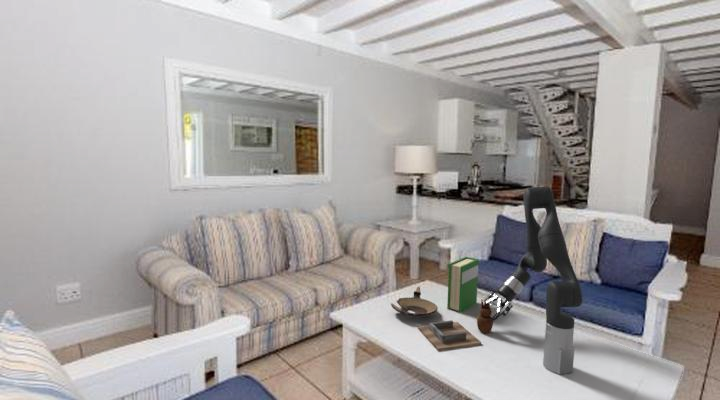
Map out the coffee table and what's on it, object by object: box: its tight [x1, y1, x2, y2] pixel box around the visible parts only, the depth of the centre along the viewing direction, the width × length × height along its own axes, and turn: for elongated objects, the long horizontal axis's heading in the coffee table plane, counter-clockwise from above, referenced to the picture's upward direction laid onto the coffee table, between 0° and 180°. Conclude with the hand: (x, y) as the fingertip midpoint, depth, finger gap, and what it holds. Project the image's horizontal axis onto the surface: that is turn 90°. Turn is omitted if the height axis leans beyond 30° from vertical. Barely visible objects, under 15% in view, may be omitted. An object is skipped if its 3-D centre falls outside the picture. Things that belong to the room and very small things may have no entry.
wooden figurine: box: [476, 299, 494, 334], centre depth 172 cm, size 7×6×15 cm
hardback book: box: [446, 256, 480, 314], centre depth 199 cm, size 18×7×24 cm, turn 137°
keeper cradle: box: [417, 319, 482, 352], centre depth 168 cm, size 20×20×4 cm
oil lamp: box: [390, 286, 438, 318], centre depth 193 cm, size 22×30×8 cm
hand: (486, 315), depth 172 cm, fingers open, 8 cm apart
